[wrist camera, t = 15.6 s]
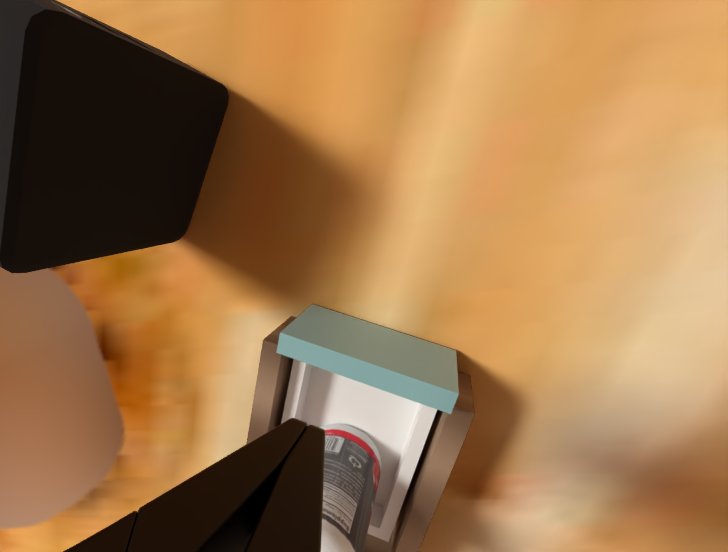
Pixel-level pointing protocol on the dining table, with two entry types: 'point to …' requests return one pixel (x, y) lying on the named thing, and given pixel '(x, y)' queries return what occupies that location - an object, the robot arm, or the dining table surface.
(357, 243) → the dining table surface
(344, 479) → the pill bottle
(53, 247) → the electronic device
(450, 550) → the dining table surface
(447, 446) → the dock
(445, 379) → the tray
